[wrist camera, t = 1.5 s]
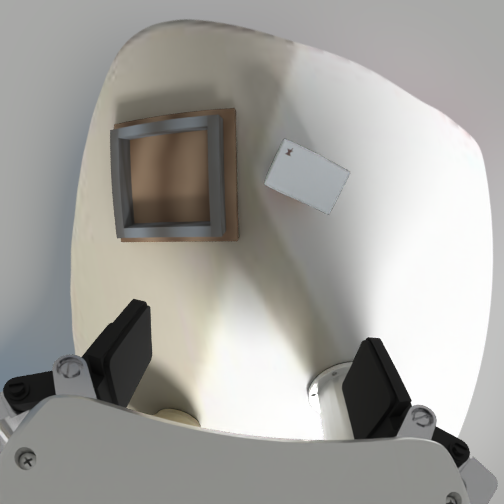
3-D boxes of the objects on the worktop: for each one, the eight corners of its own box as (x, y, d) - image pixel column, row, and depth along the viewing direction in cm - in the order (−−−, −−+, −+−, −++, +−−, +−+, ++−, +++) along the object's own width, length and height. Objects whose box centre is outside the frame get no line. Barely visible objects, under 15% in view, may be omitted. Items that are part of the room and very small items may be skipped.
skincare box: (264, 179, 33) (260, 184, 21) (279, 147, 31) (283, 135, 20) (310, 200, 33) (329, 217, 22) (324, 169, 32) (352, 170, 20)
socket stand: (235, 110, 30) (230, 102, 26) (238, 238, 35) (233, 248, 31) (119, 125, 32) (102, 122, 27) (126, 239, 36) (110, 248, 32)
